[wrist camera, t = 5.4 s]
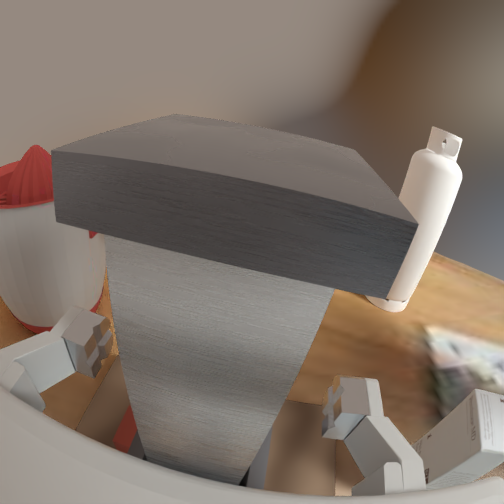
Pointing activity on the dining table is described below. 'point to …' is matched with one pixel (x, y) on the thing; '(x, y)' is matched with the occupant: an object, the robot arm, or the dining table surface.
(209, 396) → the column
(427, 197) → the bottle
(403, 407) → the dining table surface
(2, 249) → the citrus juicer
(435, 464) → the skincare box
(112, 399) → the stand
